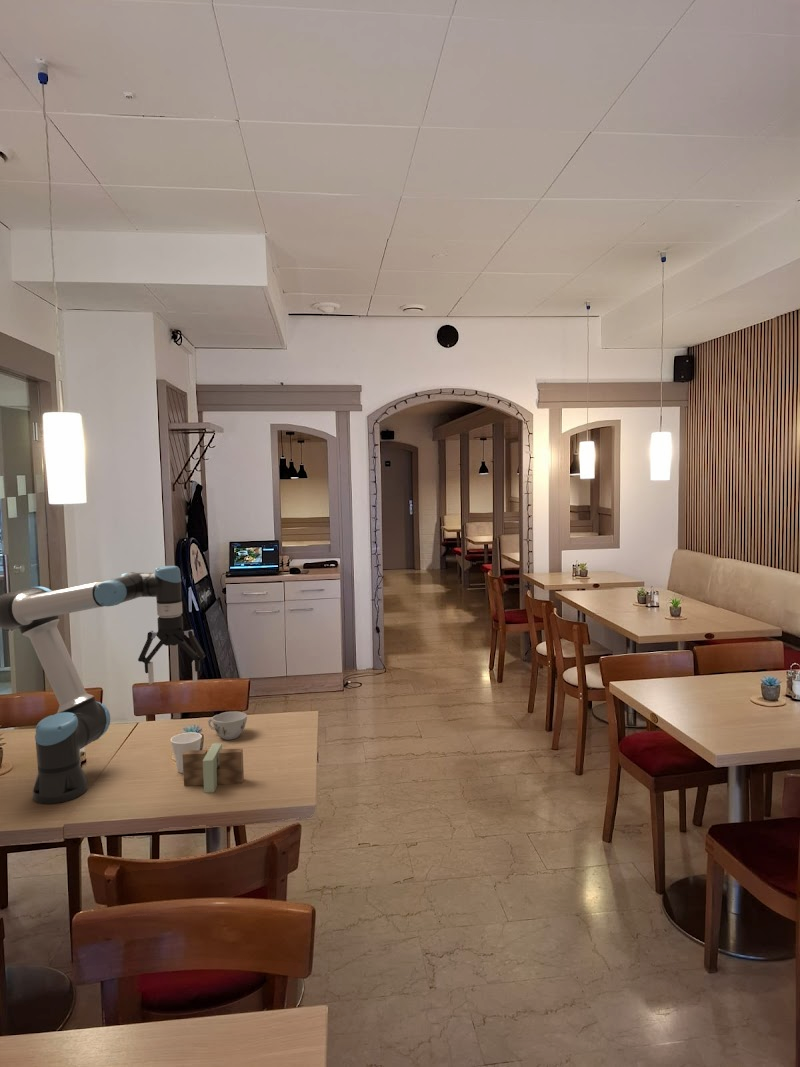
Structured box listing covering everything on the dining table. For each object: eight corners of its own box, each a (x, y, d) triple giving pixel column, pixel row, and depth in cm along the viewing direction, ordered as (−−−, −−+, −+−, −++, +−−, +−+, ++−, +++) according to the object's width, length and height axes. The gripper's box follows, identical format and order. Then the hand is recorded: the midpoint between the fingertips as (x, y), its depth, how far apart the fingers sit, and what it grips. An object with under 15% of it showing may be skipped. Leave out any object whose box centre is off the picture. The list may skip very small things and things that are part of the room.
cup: (194, 777, 226) (192, 744, 225) (166, 775, 228) (164, 742, 227) (208, 765, 236) (207, 732, 235) (181, 763, 238) (180, 731, 237)
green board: (214, 792, 215) (212, 760, 214) (204, 792, 215) (202, 760, 214) (223, 773, 229) (221, 743, 228) (213, 773, 229) (212, 743, 228)
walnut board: (184, 785, 220) (182, 754, 219) (186, 781, 223) (184, 750, 222) (242, 783, 221) (240, 752, 220) (243, 779, 224) (242, 748, 223)
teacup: (253, 732, 266) (252, 711, 265) (238, 744, 254) (237, 722, 253) (217, 729, 269) (216, 709, 269) (200, 741, 257) (199, 720, 257)
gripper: (125, 619, 216) (129, 687, 218) (207, 616, 217) (210, 684, 219) (133, 614, 223) (136, 680, 225) (213, 612, 225) (215, 677, 226)
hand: (173, 682), depth 222 cm, fingers open, 13 cm apart
